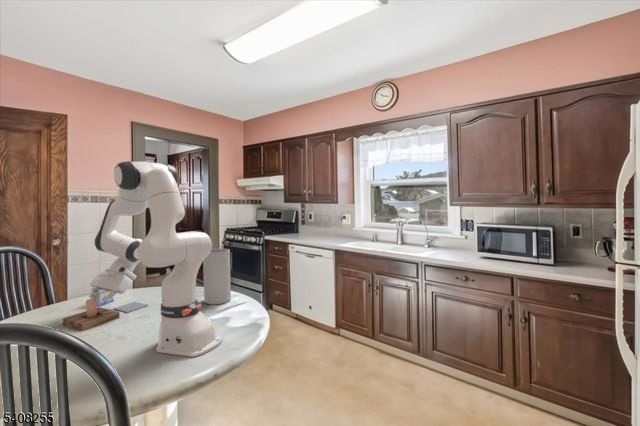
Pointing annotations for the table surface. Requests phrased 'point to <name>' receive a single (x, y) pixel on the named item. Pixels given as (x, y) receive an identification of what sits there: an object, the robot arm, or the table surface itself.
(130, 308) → the mat
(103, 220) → the robot arm
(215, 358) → the table surface
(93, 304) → the peg
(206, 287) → the cylinder vase
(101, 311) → the pocket block
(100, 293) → the medicine box
